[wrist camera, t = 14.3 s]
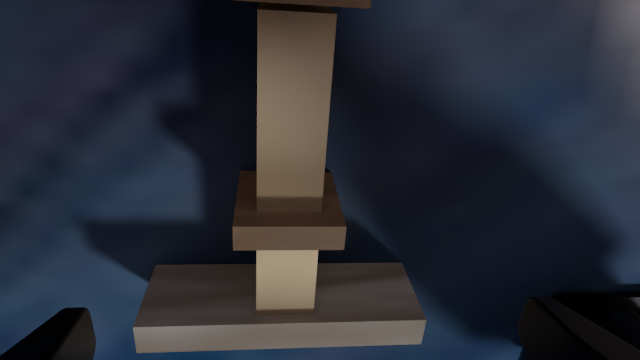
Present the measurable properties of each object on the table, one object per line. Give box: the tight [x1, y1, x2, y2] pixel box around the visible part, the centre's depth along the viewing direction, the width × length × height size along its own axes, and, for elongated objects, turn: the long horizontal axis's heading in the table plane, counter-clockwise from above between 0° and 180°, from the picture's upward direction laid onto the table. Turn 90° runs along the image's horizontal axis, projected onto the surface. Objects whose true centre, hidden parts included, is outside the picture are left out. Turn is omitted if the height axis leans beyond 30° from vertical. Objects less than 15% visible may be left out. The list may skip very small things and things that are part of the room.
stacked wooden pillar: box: [133, 0, 426, 353], centre depth 17 cm, size 15×12×4 cm
